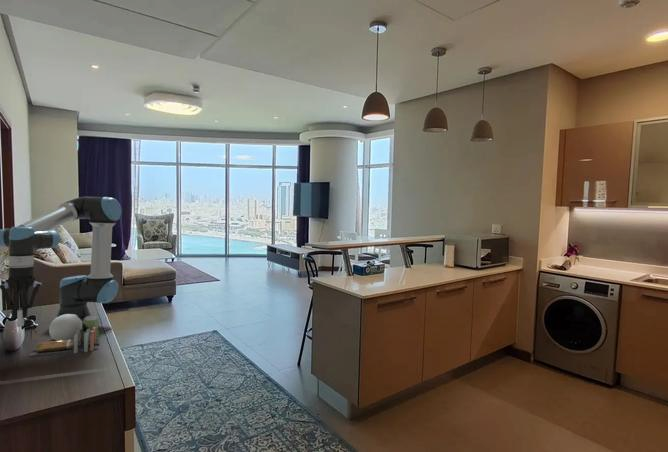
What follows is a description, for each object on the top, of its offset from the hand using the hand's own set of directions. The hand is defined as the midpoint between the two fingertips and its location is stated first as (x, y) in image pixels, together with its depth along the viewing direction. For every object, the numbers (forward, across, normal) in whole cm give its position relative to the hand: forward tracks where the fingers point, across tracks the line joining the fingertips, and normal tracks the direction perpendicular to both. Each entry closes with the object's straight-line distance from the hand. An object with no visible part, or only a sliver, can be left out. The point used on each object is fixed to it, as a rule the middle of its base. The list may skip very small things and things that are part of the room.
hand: (20, 325), depth 147 cm
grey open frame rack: (+13, +15, 0) cm, 20 cm away
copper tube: (+12, +11, 0) cm, 16 cm away
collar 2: (+13, +22, 0) cm, 26 cm away
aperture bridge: (+13, +24, 0) cm, 27 cm away
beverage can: (+13, +22, +10) cm, 27 cm away
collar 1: (+13, +19, 0) cm, 23 cm away
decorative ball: (+13, +12, +16) cm, 24 cm away
